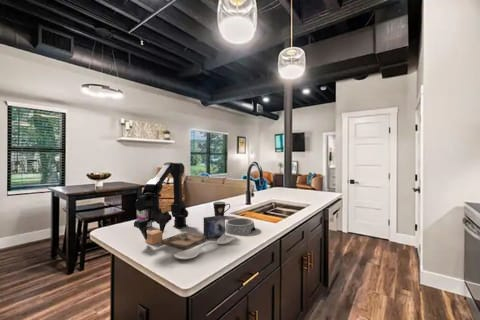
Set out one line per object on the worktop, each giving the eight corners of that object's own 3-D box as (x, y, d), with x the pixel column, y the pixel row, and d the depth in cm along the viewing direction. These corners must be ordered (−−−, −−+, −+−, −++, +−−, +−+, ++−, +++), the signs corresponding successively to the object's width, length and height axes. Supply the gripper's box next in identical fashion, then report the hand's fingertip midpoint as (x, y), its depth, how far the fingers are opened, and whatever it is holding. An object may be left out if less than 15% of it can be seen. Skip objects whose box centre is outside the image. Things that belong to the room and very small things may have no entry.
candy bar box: (152, 226, 147) (152, 200, 147) (145, 228, 144) (144, 201, 143) (144, 223, 155) (143, 198, 154) (136, 225, 151) (135, 199, 150)
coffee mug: (212, 217, 166) (211, 203, 166) (215, 214, 175) (215, 201, 174) (228, 218, 164) (227, 204, 164) (230, 215, 173) (230, 201, 172)
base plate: (185, 234, 133) (185, 226, 132) (206, 239, 123) (206, 231, 123) (161, 243, 120) (161, 234, 119) (182, 250, 110) (182, 240, 110)
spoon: (236, 243, 119) (236, 236, 119) (182, 265, 96) (181, 257, 96) (224, 238, 125) (224, 232, 125) (170, 259, 102) (170, 251, 102)
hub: (145, 242, 121) (145, 232, 121) (155, 238, 126) (155, 229, 126) (152, 244, 117) (152, 234, 117) (162, 241, 122) (162, 231, 122)
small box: (207, 240, 123) (206, 220, 123) (203, 236, 129) (202, 217, 128) (225, 236, 128) (225, 217, 127) (221, 233, 133) (220, 214, 133)
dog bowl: (219, 232, 135) (219, 223, 135) (234, 224, 151) (234, 216, 151) (246, 237, 127) (246, 227, 127) (259, 228, 143) (259, 219, 143)
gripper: (146, 212, 109) (146, 246, 109) (178, 205, 124) (178, 234, 125) (132, 209, 116) (133, 241, 116) (164, 202, 131) (165, 230, 131)
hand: (153, 236), depth 122 cm, fingers open, 9 cm apart
